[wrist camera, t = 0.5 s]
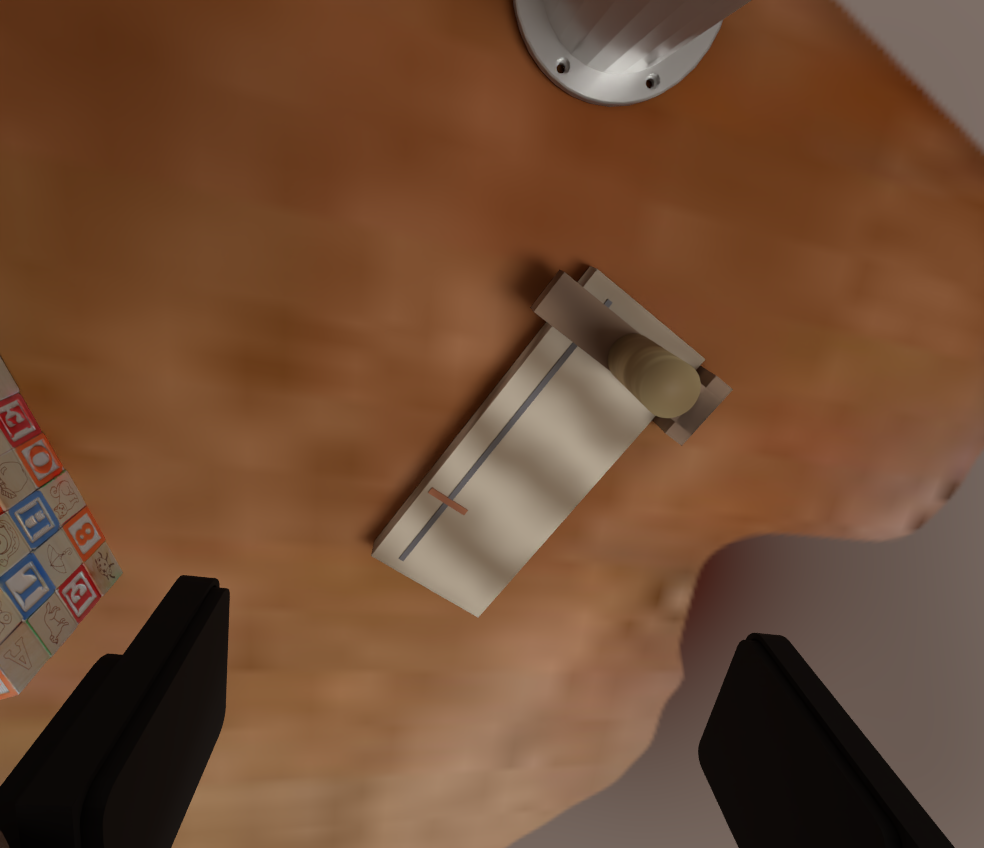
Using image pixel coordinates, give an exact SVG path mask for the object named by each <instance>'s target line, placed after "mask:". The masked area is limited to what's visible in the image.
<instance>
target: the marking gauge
mask: <svg viewBox="0 0 984 848" xmlns="http://www.w3.org/2000/svg"><path fill="white" fill-rule="evenodd" d="M530 308H531V309H532V310H533V311H534V312H535V313H536V314H537V315H539V316H540V317H541V318H542V319H544V320H545V321H546V322H548V323H549V324H550V325H551V326H553V327H554V328H555V329H557V330H558V331H559V332H560V333H562V334H563V335H564V336H566V337H567V338H568V339H569V340H571V341H572V342H573V343H575V344H576V345H577V346H578V347H580V348H581V349H582V350H584V351H585V352H586V353H587V354H589V355H590V356H591V357H593V358H594V359H595V360H596V361H598V362H599V363H600V364H602V365H603V366H604V367H605V368H607V369H608V370H609V371H610V372H611V373H612V374H613V376H614V377H615V378H616V379H617V380H618V381H619V382H621V383H622V384H623V385H624V386H625V387H626V388H627V389H628V390H629V391H630V392H631V393H632V394H633V395H634V396H635V397H636V398H637V399H638V400H639V401H640V402H641V403H642V404H643V405H644V406H645V407H646V408H647V409H648V410H649V411H650V412H651V413H652V414H654V415H656V416H655V417H654V418H653V419H652V420H653V421H654V422H655V423H656V424H657V425H658V426H659V427H660V428H661V429H662V430H663V431H664V432H665V433H666V434H667V435H668V436H670V437H671V438H672V439H674V440H675V441H676V442H678V443H679V444H680V445H681V446H682V445H683V444H684V443H685V442H686V441H687V439H688V438H689V437H690V436H691V435H692V434H693V433H694V432H695V431H696V429H697V428H698V427H699V426H700V425H701V424H702V423H703V422H704V421H705V420H706V418H707V417H708V416H709V415H710V414H711V413H712V412H713V411H714V410H715V409H716V407H717V406H718V405H719V404H720V403H721V402H722V401H723V400H724V399H725V398H726V396H727V395H728V394H729V393H730V392H731V391H732V390H733V389H732V388H730V387H729V386H728V385H727V384H726V383H724V382H723V381H722V380H721V379H720V378H718V377H717V376H716V375H714V374H713V373H711V372H709V371H708V370H706V369H704V368H703V367H701V366H699V367H698V368H697V369H696V370H695V369H694V368H693V367H692V366H691V365H689V364H688V363H686V362H685V361H683V360H681V359H680V358H678V357H677V356H675V355H674V354H672V353H671V352H669V351H667V350H666V349H664V348H663V347H661V346H660V345H658V344H656V343H655V342H653V341H652V340H650V339H649V338H647V337H645V336H643V335H641V334H640V333H639V332H637V331H636V330H635V329H634V328H632V327H631V326H630V325H629V324H628V323H626V322H625V321H624V320H623V319H621V318H620V317H619V316H618V315H617V314H615V313H614V312H613V311H612V310H610V309H609V308H608V307H607V306H605V305H604V304H603V303H602V302H601V301H599V300H598V299H597V298H596V297H594V296H593V295H592V294H591V293H590V292H588V291H587V290H586V289H585V288H583V287H582V286H581V285H580V284H579V283H577V282H576V281H575V280H574V279H572V278H571V277H570V276H569V275H568V274H566V273H565V272H564V271H562V270H559V271H558V272H557V274H556V275H555V276H554V278H553V279H552V280H551V281H550V283H549V284H548V285H547V287H546V288H545V289H544V291H543V292H542V293H541V294H540V296H539V297H538V298H537V300H536V301H535V302H534V303H533V305H532V306H531V307H530Z"/></svg>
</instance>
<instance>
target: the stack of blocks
mask: <svg viewBox="0 0 984 848" xmlns="http://www.w3.org/2000/svg"><path fill="white" fill-rule="evenodd" d="M122 573H123V572H122V570H121V568H120V566H119V565H118V563H117V561H116V559H115V557H114V556H113V554H112V552H111V550H110V548H109V547H108V545H107V543H106V541H105V537H104V536H103V534H102V532H101V530H100V528H99V527H98V525H97V523H96V521H95V520H94V518H93V516H92V514H91V512H90V511H89V509H88V507H87V506H86V504H85V502H84V500H83V498H82V496H81V494H80V492H79V491H78V489H77V487H76V485H75V484H74V482H73V480H72V478H71V477H70V475H69V473H68V472H67V471H66V470H65V469H64V468H63V466H62V464H61V462H60V461H59V459H58V457H57V456H56V454H55V452H54V450H53V449H52V447H51V445H50V443H49V442H48V440H47V438H46V436H45V435H44V434H43V433H42V432H41V429H40V427H39V426H38V424H37V422H36V420H35V418H34V417H33V415H32V413H31V411H30V410H29V408H28V407H27V404H26V403H25V401H24V399H23V398H22V396H21V395H20V394H19V388H18V386H17V385H16V383H15V381H14V380H13V378H12V376H11V374H10V373H9V371H8V369H7V367H6V366H5V364H4V362H3V360H2V358H1V357H0V700H1V699H5V698H9V697H12V696H16V695H18V694H20V692H21V691H22V690H23V689H24V688H25V687H26V685H27V684H28V683H29V682H30V681H31V679H32V678H33V677H34V676H35V675H36V673H37V672H38V671H39V670H40V669H41V667H42V666H43V665H44V664H45V663H46V661H47V660H48V659H50V658H51V657H52V656H53V655H54V654H55V653H56V651H57V650H58V649H59V647H60V646H62V645H63V643H64V642H65V641H66V639H67V638H68V637H69V636H70V635H71V634H72V633H73V631H74V630H75V629H76V628H77V625H78V624H79V623H80V622H81V621H82V620H83V619H84V617H85V616H86V615H87V614H88V613H89V612H90V610H91V609H92V608H93V607H94V606H95V604H96V603H97V602H98V601H99V599H100V598H101V596H103V595H104V594H105V593H106V592H107V591H108V590H109V589H110V588H111V587H112V585H113V584H114V583H115V582H116V580H117V579H118V578H119V577H120V576H121V574H122Z"/></svg>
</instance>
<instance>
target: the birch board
mask: <svg viewBox="0 0 984 848" xmlns="http://www.w3.org/2000/svg"><path fill="white" fill-rule="evenodd" d="M577 283H579V284H580V285H581V286H582V287H583V288H585V289H586V290H587V291H588V292H590V293H591V294H592V295H593V296H594V297H596V298H597V299H598V300H599V301H601V302H602V303H603V304H604V305H605V306H607V307H608V308H609V309H610V310H612V311H613V312H614V313H615V314H617V315H618V316H619V317H620V318H621V319H623V320H624V321H625V322H626V323H628V324H629V325H630V326H631V327H632V328H634V329H635V330H636V331H637V332H639V333H640V334H641V335H643V336H645V337H647V338H649V339H650V340H652V341H653V342H655V343H656V344H658V345H660V346H661V347H663V348H664V349H666V350H667V351H669V352H671V353H672V354H674V355H675V356H677V357H678V358H680V359H681V360H683V361H685V362H686V363H688V364H689V365H691V366H692V367H693V368H694V369H695V370H696V369H697V368H698V367H699V366H700V365H701V364H702V363H703V361H704V360H705V359H704V358H703V357H702V356H701V355H700V354H698V353H697V352H696V351H695V350H694V349H692V348H691V347H690V346H689V345H688V344H686V343H685V342H684V341H683V340H682V339H680V338H679V337H678V336H677V335H676V334H674V333H673V332H672V331H671V330H670V329H668V328H667V327H666V326H665V325H664V324H662V323H661V322H660V321H659V320H658V319H656V318H655V317H654V316H653V315H652V314H650V313H649V312H648V311H647V310H646V309H644V308H643V307H642V306H641V305H640V304H638V303H637V302H636V301H635V300H634V299H633V298H631V297H630V296H629V295H628V294H627V293H625V292H624V291H623V290H622V289H621V288H619V287H618V286H617V285H616V284H615V283H613V282H612V281H611V280H610V279H609V278H607V277H606V276H605V275H604V274H603V273H601V272H600V271H599V270H598V269H596V268H593V267H591V266H590V267H589V268H588V269H587V271H586V272H585V273H584V275H583V276H582V277H581V278H580V280H579V281H578V282H577ZM655 416H656V415H654V414H652V413H651V412H650V411H649V410H648V409H647V408H646V407H645V406H644V405H643V404H642V403H641V402H640V401H639V400H638V399H637V398H636V397H635V396H634V395H633V394H632V393H631V392H630V391H629V390H628V389H627V388H626V387H625V386H624V385H623V384H622V383H621V382H619V381H618V380H617V379H616V378H615V377H614V376H613V374H612V373H611V372H610V371H609V370H608V369H607V368H605V367H604V366H603V365H602V364H600V363H599V362H598V361H596V360H595V359H594V358H593V357H591V356H590V355H589V354H587V353H586V352H585V351H584V350H582V349H581V348H580V347H578V346H577V345H576V344H575V343H573V342H572V341H571V340H569V339H568V338H567V337H566V336H564V335H563V334H562V333H560V332H559V331H558V330H557V329H555V328H554V327H553V326H551V325H550V324H549V323H548V322H546V323H545V324H544V326H543V327H542V328H541V329H540V331H539V332H538V333H537V334H536V336H535V337H534V338H533V340H532V341H531V342H530V343H529V345H528V346H527V347H526V349H525V350H524V351H523V352H522V354H521V355H520V356H519V357H518V359H517V360H516V361H515V363H514V364H513V365H512V366H511V368H510V369H509V370H508V371H507V373H506V374H505V375H504V377H503V378H502V379H501V380H500V382H499V383H498V384H497V385H496V387H495V388H494V389H493V391H492V392H491V393H490V394H489V396H488V397H487V398H486V400H485V401H484V402H483V403H482V405H481V406H480V407H479V408H478V410H477V411H476V412H475V414H474V415H473V416H472V417H471V419H470V420H469V421H468V422H467V424H466V425H465V426H464V428H463V429H462V430H461V431H460V433H459V434H458V435H457V436H456V438H455V439H454V440H453V442H452V443H451V444H450V445H449V447H448V448H447V449H446V450H445V452H444V453H443V454H442V456H441V457H440V458H439V459H438V461H437V462H436V463H435V465H434V466H433V467H432V468H431V470H430V471H429V472H428V473H427V475H426V476H425V477H424V479H423V480H422V481H421V482H420V484H419V485H418V486H417V487H416V489H415V490H414V491H413V493H412V494H411V495H410V496H409V498H408V499H407V500H406V501H405V503H404V504H403V505H402V507H401V508H400V509H399V510H398V512H397V513H396V514H395V516H394V517H393V518H392V519H391V521H390V522H389V523H388V524H387V526H386V527H385V528H384V530H383V531H382V532H381V533H380V535H379V536H378V537H377V538H376V540H375V541H374V545H373V549H372V554H371V556H372V557H374V558H376V559H378V560H379V561H381V562H383V563H384V564H386V565H388V566H390V567H391V568H393V569H395V570H397V571H398V572H400V573H402V574H404V575H405V576H407V577H409V578H410V579H412V580H414V581H416V582H417V583H419V584H421V585H423V586H424V587H426V588H428V589H430V590H431V591H433V592H435V593H437V594H438V595H440V596H442V597H443V598H445V599H447V600H449V601H450V602H452V603H454V604H456V605H457V606H459V607H461V608H463V609H464V610H466V611H468V612H469V613H471V614H473V615H475V616H476V617H479V616H480V615H481V614H482V613H483V611H484V610H485V609H486V608H487V607H488V606H489V605H490V603H491V602H492V601H493V600H494V599H495V598H496V597H497V595H498V594H499V593H500V592H501V591H502V590H503V589H504V588H505V586H506V585H507V584H508V583H509V582H510V581H511V580H512V578H513V577H514V576H515V575H516V574H517V573H518V572H519V570H520V569H521V568H522V567H523V566H524V565H525V564H526V563H527V561H528V560H529V559H530V558H531V557H532V556H533V555H534V553H535V552H536V551H537V550H538V549H539V548H540V547H541V545H542V544H543V543H544V542H545V541H546V540H547V539H548V538H549V536H550V535H551V534H552V533H553V532H554V531H555V530H556V528H557V527H558V526H559V525H560V524H561V523H562V522H563V521H564V519H565V518H566V517H567V516H568V515H569V514H570V513H571V511H572V510H573V509H574V508H575V507H576V506H577V505H578V503H579V502H580V501H581V500H582V499H583V498H584V497H585V496H586V494H587V493H588V492H589V491H590V490H591V489H592V488H593V486H594V485H595V484H596V483H597V482H598V481H599V480H600V478H601V477H602V476H603V475H604V474H605V473H606V472H607V471H608V469H609V468H610V467H611V466H612V465H613V464H614V463H615V461H616V460H617V459H618V458H619V457H620V456H621V455H622V453H623V452H624V451H625V450H626V449H627V448H628V447H629V446H630V444H631V443H632V442H633V441H634V440H635V439H636V438H637V436H638V435H639V434H640V433H641V432H642V431H643V430H644V429H645V427H646V426H647V425H648V424H649V423H650V422H651V421H652V419H653V418H654V417H655Z"/></svg>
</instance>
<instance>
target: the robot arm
mask: <svg viewBox="0 0 984 848" xmlns="http://www.w3.org/2000/svg"><path fill="white" fill-rule="evenodd" d="M750 1H751V0H513V6H514V11H515V15H516V19H517V23H518V27H519V31H520V33H521V35H522V38H523V40H524V42H525V45H526V47H527V49H528V52H529V53H530V55H531V56H532V58H533V59H534V61H535V62H536V64H537V65H538V67H539V68H540V70H541V71H542V72H543V73H544V74H545V75H546V76H547V77H548V78H549V79H550V80H551V81H552V82H553V83H554V84H555V85H556V86H558V87H559V88H561V89H562V90H564V91H565V92H566V93H568V94H569V95H571V96H573V97H575V98H578V99H580V100H583V101H585V102H588V103H590V104H596V105H602V106H608V107H612V106H629V105H632V104H636V103H639V102H643V101H647V100H649V99H651V98H653V97H655V96H658V95H660V94H662V93H663V92H665V91H666V90H668V89H669V88H671V87H673V86H674V85H676V84H677V83H679V82H680V81H681V80H682V79H683V78H684V77H685V76H686V75H687V74H688V73H690V72H691V71H692V70H693V69H694V68H695V67H696V65H697V64H698V63H699V62H700V60H701V59H702V58H703V56H704V55H705V54H706V52H707V51H708V50H709V48H710V46H711V44H712V42H713V41H714V39H715V37H716V35H717V33H718V31H719V29H720V27H721V24H722V22H723V19H725V18H726V17H728V16H729V15H730V14H732V13H733V12H735V11H736V10H738V9H739V8H741V7H742V6H744V5H745V4H747V3H748V2H750ZM557 65H562V66H563V67H564V72H563V73H558V71H557V68H556V67H557ZM647 80H650V81H651V82H652V87H651V88H650V89H649V88H647V86H646V81H647ZM229 601H230V592H229V589H227V588H220V587H219V581H218V579H216V578H207V577H197V576H187V575H182V576H180V577H179V578H178V579H177V580H176V582H175V583H174V585H173V586H172V587H171V589H170V590H169V592H168V593H167V594H166V596H165V597H164V598H163V600H162V601H161V603H160V604H159V605H158V607H157V608H156V610H155V611H154V612H153V614H152V615H151V616H150V618H149V619H148V621H147V622H146V623H145V625H144V626H143V628H142V629H141V630H140V632H139V633H138V635H137V636H136V637H135V639H134V640H133V641H132V643H131V644H130V646H129V647H128V648H127V650H126V651H125V653H124V654H123V655H118V654H106V655H104V656H102V657H101V658H100V659H99V660H98V661H97V662H96V663H95V664H94V665H93V667H92V668H91V669H90V670H89V672H88V673H87V674H86V676H85V677H84V678H83V680H82V681H81V682H80V683H79V685H78V686H77V687H76V689H75V690H74V691H73V693H72V694H71V695H70V697H69V698H68V699H67V700H66V702H65V703H64V704H63V706H62V707H61V708H60V710H59V711H58V712H57V713H56V715H55V716H54V717H53V719H52V720H51V721H50V723H49V724H48V725H47V726H46V728H45V729H44V730H43V732H42V733H41V734H40V736H39V737H38V738H37V739H36V741H35V742H34V743H33V745H32V746H31V747H30V749H29V750H28V751H27V752H26V754H25V755H24V756H23V758H22V759H21V760H20V762H19V763H18V764H17V765H16V767H15V768H14V769H13V771H12V772H11V773H10V775H9V776H8V777H7V778H6V780H5V781H4V782H3V784H2V785H1V786H0V848H171V847H172V844H173V842H174V840H175V837H176V835H177V833H178V830H179V828H180V825H181V823H182V821H183V818H184V816H185V814H186V811H187V809H188V807H189V804H190V802H191V800H192V797H193V795H194V793H195V790H196V788H197V786H198V783H199V781H200V779H201V776H202V774H203V772H204V769H205V767H206V765H207V762H208V760H209V758H210V755H211V753H212V751H213V748H214V746H215V744H216V741H217V739H218V737H219V734H220V731H221V728H222V725H223V721H224V717H225V709H226V684H227V656H228V629H229ZM698 755H699V761H700V765H701V767H702V770H703V772H704V774H705V776H706V778H707V780H708V783H709V785H710V787H711V789H712V791H713V793H714V796H715V798H716V800H717V802H718V804H719V806H720V809H721V811H722V813H723V815H724V817H725V819H726V822H727V824H728V826H729V828H730V830H731V832H732V834H733V837H734V839H735V841H736V843H737V845H738V847H739V848H954V846H953V845H952V844H951V842H950V841H949V840H948V839H947V837H946V836H945V835H944V834H943V832H942V831H941V830H940V829H939V828H938V826H937V825H936V824H935V822H934V821H933V820H932V819H931V818H930V816H929V815H928V814H927V812H926V811H925V810H924V809H923V808H922V806H921V805H920V804H919V802H918V801H917V800H916V799H915V798H914V796H913V795H912V794H911V793H910V791H909V790H908V789H907V788H906V786H905V785H904V784H903V783H902V781H901V780H900V779H899V778H898V776H897V775H896V774H895V773H894V771H893V770H892V769H891V768H890V766H889V765H888V764H887V763H886V761H885V760H884V759H883V758H882V756H881V755H880V754H879V753H878V751H877V750H876V749H875V748H874V746H873V745H872V744H871V743H870V741H869V740H868V739H867V738H866V737H865V735H864V734H863V733H862V731H861V730H860V729H859V728H858V726H857V725H856V724H855V723H854V722H853V720H852V719H851V718H850V716H849V715H848V714H847V713H846V712H845V710H844V709H843V708H842V706H841V705H840V704H839V703H838V701H837V700H836V699H835V698H834V696H833V695H832V694H831V693H830V691H829V690H828V689H827V688H826V686H825V685H824V684H823V683H822V681H821V680H820V679H819V678H818V676H817V675H816V674H815V673H814V672H813V670H812V669H811V668H810V667H809V665H808V664H807V663H806V661H805V660H804V659H803V658H802V656H801V655H800V654H799V653H798V651H797V650H796V649H795V648H794V646H793V645H792V644H791V643H790V641H789V640H787V639H786V638H785V637H783V636H781V635H771V634H761V633H752V634H750V635H749V636H748V637H747V638H746V640H742V641H741V642H740V643H739V645H738V646H737V649H736V651H735V654H734V657H733V659H732V661H731V664H730V667H729V669H728V672H727V674H726V677H725V679H724V682H723V685H722V687H721V689H720V692H719V695H718V697H717V700H716V702H715V705H714V707H713V710H712V712H711V715H710V717H709V720H708V723H707V726H706V728H705V730H704V733H703V736H702V738H701V740H700V743H699V748H698Z"/></svg>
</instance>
